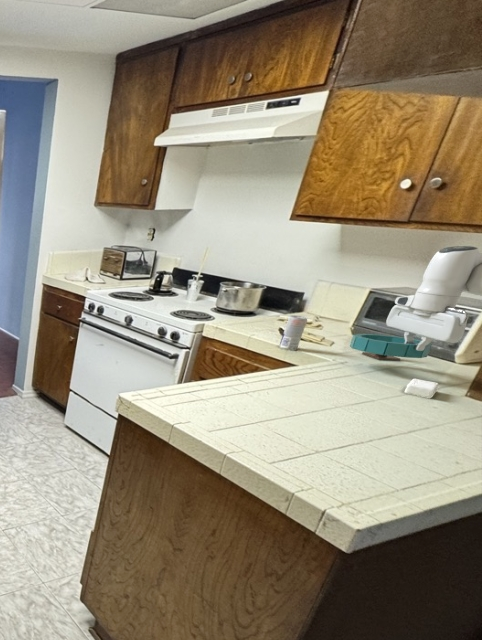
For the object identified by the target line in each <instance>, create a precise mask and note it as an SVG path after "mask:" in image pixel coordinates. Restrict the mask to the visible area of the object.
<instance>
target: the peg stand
mask: <svg viewBox="0 0 482 640" xmlns="http://www.w3.org/2000/svg"><path fill="white" fill-rule="evenodd" d="M361 355H362V356H366V357H369V358H372V359H374V360H377V361H389V362H390V361H392V362H400V361H401V357H396V356H387V355H380V354H374V353H369V352H363V351H362V353H361Z"/></svg>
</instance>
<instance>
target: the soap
mask: <svg viewBox="0 0 482 640" xmlns="http://www.w3.org/2000/svg"><path fill="white" fill-rule="evenodd" d="M439 387H440V383H438V382H434V381H428V380H425V379H424V380H423V379H418V378H413V379H412V380H411V381H410V382H409V383H408V384H407V385H406V387H405V389H404V394H407V395H408V394H409V395H410V396H416V397H420V398H425V399H432V398H433V397H434V396H435V394H436V393H437V391H438V389H439Z"/></svg>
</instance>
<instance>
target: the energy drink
mask: <svg viewBox="0 0 482 640" xmlns="http://www.w3.org/2000/svg"><path fill="white" fill-rule="evenodd" d="M307 322H308V317H307V316H303V315H289V316H288V318H287V321H286V324H285V328H284V330H283V332H282V333H283V334H282V336H281V339H280V342H279V345H278V347H279V348H280V349H282V350H287V351H288V350H289V351H296V350H298V347H299V345H300V342H301V339H302V337H303V335H304V330H305V328H306V325H307Z"/></svg>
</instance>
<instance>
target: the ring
mask: <svg viewBox="0 0 482 640" xmlns="http://www.w3.org/2000/svg"><path fill="white" fill-rule="evenodd" d="M421 341H422V339H416V338H413V342H416V343H415V344H419V343H420V342H421ZM415 344H405V338H404V336H398V335H397V336H395V335H389V334H375V333H355V334H353V335H352V338H351V341H350V343H349V347H350V348H351V349H353V350H355V351H356V350H357V351H359V352H362V353H363V352H369V353H374V354H380V355H387V356H394V357H397V358H405V359H406V358H407V359H410V358H411V359H423V358H427V357H428V355H429V353H430V350H431V348H432V345H433V343H432V342H430V343H429V344H428V345H426V346H425V348H424V350H423V351H418V350H415V349H413V348H414V345H415Z"/></svg>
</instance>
